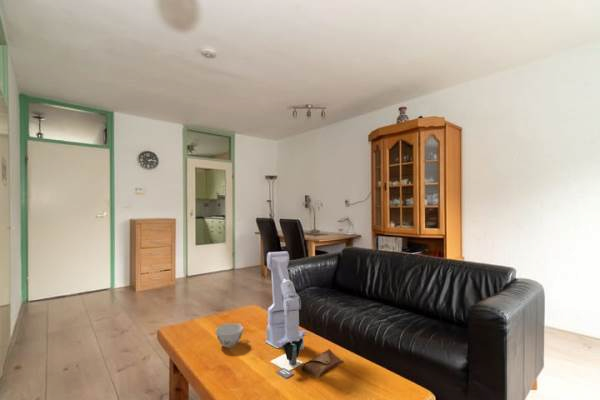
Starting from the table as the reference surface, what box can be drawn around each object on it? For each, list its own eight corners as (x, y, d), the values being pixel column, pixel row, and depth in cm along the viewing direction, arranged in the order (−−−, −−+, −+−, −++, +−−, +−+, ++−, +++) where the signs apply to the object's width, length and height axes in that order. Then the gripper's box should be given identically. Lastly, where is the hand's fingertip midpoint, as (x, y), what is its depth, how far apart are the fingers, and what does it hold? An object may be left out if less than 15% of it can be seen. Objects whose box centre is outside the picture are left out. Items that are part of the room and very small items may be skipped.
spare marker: (295, 348, 138) (295, 332, 138) (300, 345, 140) (300, 330, 140) (300, 350, 135) (300, 335, 135) (305, 348, 138) (305, 332, 138)
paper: (270, 361, 126) (270, 361, 126) (285, 354, 132) (285, 353, 132) (287, 372, 118) (287, 371, 118) (303, 363, 125) (303, 362, 125)
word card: (276, 372, 118) (276, 371, 118) (283, 368, 121) (283, 367, 121) (286, 378, 114) (286, 377, 114) (293, 374, 116) (293, 373, 116)
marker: (287, 363, 124) (286, 346, 124) (292, 360, 127) (292, 343, 127) (292, 366, 122) (292, 348, 122) (298, 362, 124) (298, 345, 124)
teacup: (228, 354, 133) (228, 336, 133) (210, 347, 140) (210, 329, 140) (251, 341, 145) (251, 324, 145) (233, 335, 152) (233, 319, 152)
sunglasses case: (318, 379, 113) (311, 361, 115) (306, 382, 117) (299, 365, 119) (344, 360, 126) (337, 344, 129) (332, 364, 130) (326, 348, 133)
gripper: (285, 333, 116) (286, 368, 116) (310, 323, 127) (311, 355, 127) (274, 328, 121) (274, 362, 121) (299, 318, 132) (299, 349, 132)
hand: (292, 358), depth 124 cm, fingers closed on marker, 3 cm apart
